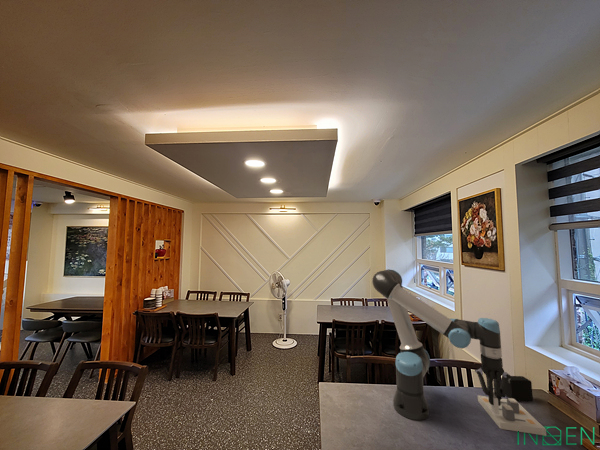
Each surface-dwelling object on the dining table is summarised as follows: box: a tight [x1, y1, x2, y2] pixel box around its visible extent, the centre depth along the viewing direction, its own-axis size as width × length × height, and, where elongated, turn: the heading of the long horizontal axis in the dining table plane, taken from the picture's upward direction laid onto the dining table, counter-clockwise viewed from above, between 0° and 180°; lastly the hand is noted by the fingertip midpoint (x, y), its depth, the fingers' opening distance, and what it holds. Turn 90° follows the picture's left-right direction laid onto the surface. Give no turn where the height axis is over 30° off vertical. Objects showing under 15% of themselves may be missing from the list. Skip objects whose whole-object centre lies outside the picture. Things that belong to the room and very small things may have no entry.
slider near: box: [502, 405, 515, 421], centre depth 103 cm, size 3×3×5 cm
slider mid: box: [506, 397, 520, 414], centre depth 108 cm, size 3×3×5 cm
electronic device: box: [505, 375, 534, 403], centre depth 121 cm, size 4×10×10 cm, turn 89°
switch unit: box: [477, 395, 547, 437], centre depth 108 cm, size 16×19×3 cm
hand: (495, 412), depth 104 cm, fingers closed
